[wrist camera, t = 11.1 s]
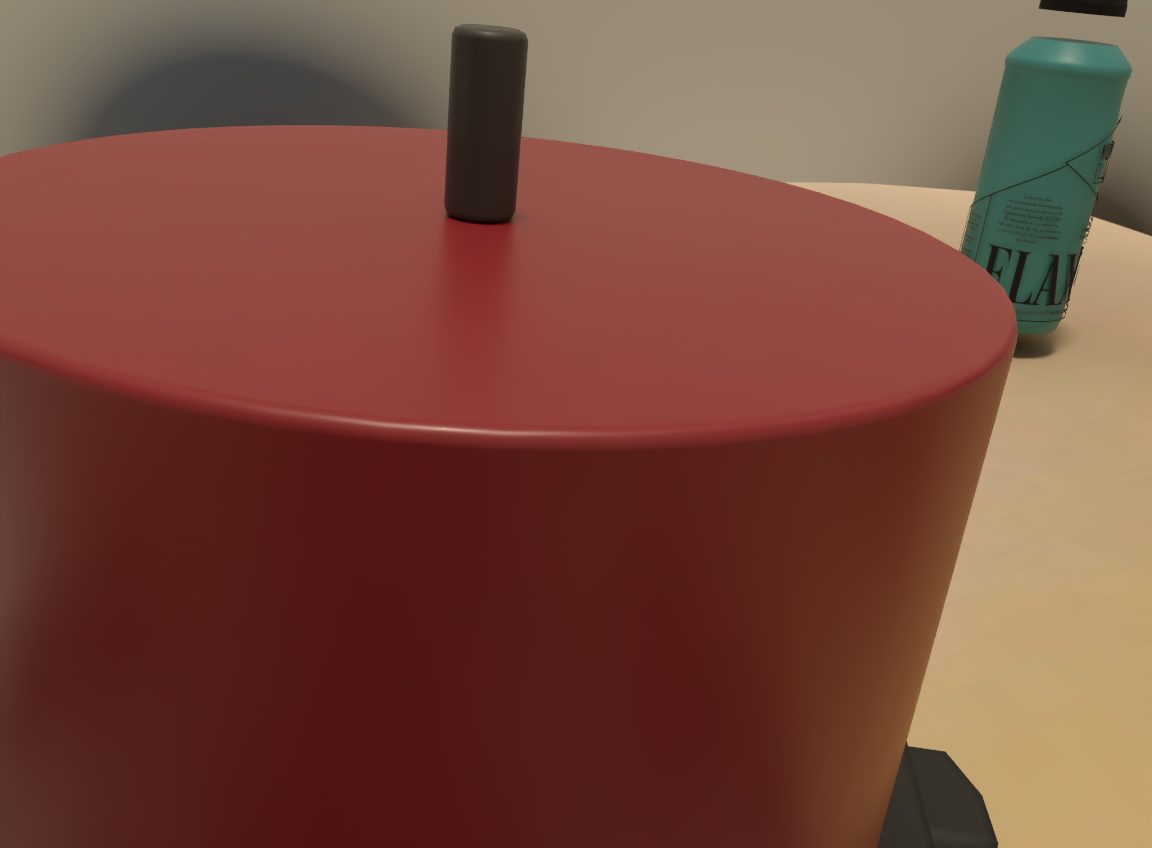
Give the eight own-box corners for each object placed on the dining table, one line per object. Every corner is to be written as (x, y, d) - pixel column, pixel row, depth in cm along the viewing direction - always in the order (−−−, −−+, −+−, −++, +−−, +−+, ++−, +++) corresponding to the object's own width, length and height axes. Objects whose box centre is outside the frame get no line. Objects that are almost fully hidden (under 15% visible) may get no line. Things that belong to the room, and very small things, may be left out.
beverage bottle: (947, 351, 60) (1041, -38, 52) (930, 316, 66) (1012, -38, 58) (1069, 367, 59) (1183, -25, 51) (1040, 330, 65) (1139, -27, 57)
